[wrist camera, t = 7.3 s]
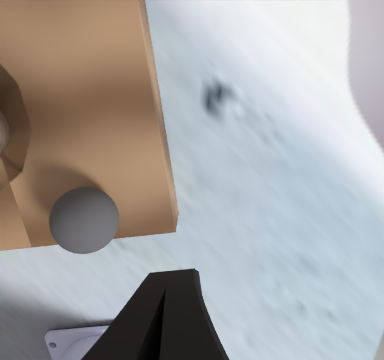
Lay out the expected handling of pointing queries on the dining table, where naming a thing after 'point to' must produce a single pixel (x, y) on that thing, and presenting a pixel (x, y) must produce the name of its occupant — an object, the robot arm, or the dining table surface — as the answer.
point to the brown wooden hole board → (81, 116)
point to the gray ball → (84, 220)
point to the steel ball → (3, 132)
